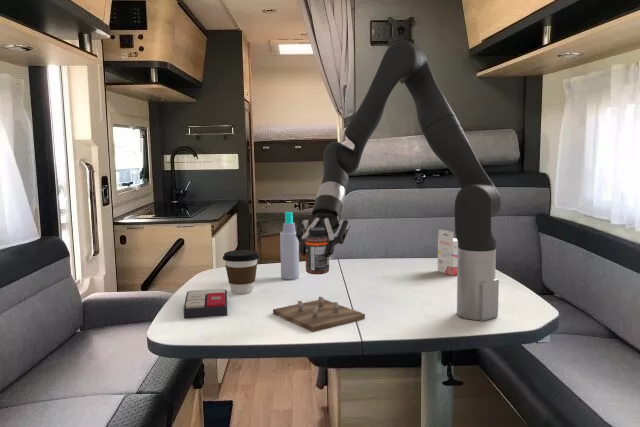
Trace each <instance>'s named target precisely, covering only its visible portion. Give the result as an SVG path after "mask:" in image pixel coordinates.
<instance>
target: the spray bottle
mask: <svg viewBox="0 0 640 427" xmlns="http://www.w3.org/2000/svg"><path fill="white" fill-rule="evenodd" d="M284 218H285V219H284V223H282V225H283V226H282V231H280V233H279V238H280V239H279V240H280V241H279V242H280V243H279V244H280V248H279V249H280V250H279V251H280V277H281V279H282V280H285V279H286V280H285V281H287V280H288V281H290V280H291V281H292V280H293V279H294V280H297V279H299V277H300V255H299V254H300V251H299V247H300V245H299V244H300V242H299V241H298V239H297V237H296V223H295V222H294V216H293V211H285V212H284Z"/></svg>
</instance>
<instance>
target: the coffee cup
mask: <svg viewBox="0 0 640 427" xmlns="http://www.w3.org/2000/svg"><path fill="white" fill-rule="evenodd" d="M259 258H260V254H259V253H258V252H257V251H256V250H251V249H236V250H230V251H226V252H225V253H223V256H222V260H223V261H224V262H225V270H226V275H227V280H228V283H229V287H230V291H231V293H232V294H233V295H248V294H251V293H253V290H254V287H255V282H256V276H257V275H256V274H257V268H258V267H257V266H258V260H259Z"/></svg>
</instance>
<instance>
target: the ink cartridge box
mask: <svg viewBox="0 0 640 427" xmlns="http://www.w3.org/2000/svg"><path fill="white" fill-rule="evenodd" d="M437 234H438V235H437V272H439V273H443V274H446V275H450V276H453V277H454V276H457V265H458V241H457V238H456V237H455V238H454V234H455V232H454V231H450V230H445V229H438V233H437ZM445 234H446V235H445Z"/></svg>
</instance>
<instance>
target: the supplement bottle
mask: <svg viewBox="0 0 640 427" xmlns="http://www.w3.org/2000/svg"><path fill="white" fill-rule="evenodd" d="M324 234H325V228H321V227H314V228H309V235H308V237H307V238H306V239H305V251H306V255H305V272H307V274H309V275H324V274H327V273H328V272H329V271H330V257H326V254H325V251H326V247H327V244H328V241H330V239H329V236H325V235H324Z"/></svg>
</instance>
